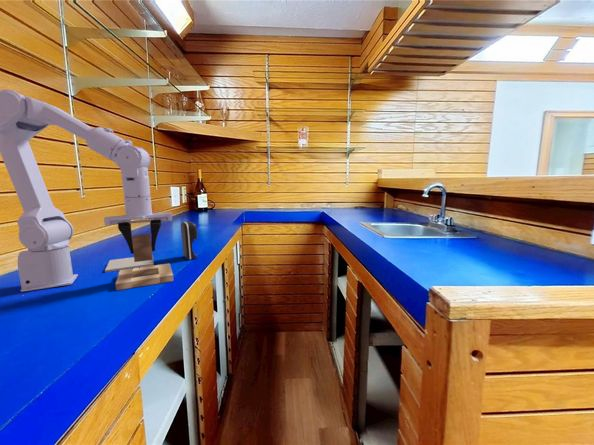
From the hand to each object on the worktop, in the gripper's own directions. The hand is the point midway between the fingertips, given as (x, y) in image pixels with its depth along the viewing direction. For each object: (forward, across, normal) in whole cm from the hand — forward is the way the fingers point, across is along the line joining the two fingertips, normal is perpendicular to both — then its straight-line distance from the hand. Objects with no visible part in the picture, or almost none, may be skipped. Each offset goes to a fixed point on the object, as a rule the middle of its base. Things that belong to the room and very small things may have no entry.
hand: (143, 251), depth 74 cm
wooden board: (+7, 0, 0) cm, 7 cm away
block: (+2, 0, 0) cm, 2 cm away
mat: (+7, -4, +18) cm, 20 cm away
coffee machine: (+7, +13, +16) cm, 22 cm away
